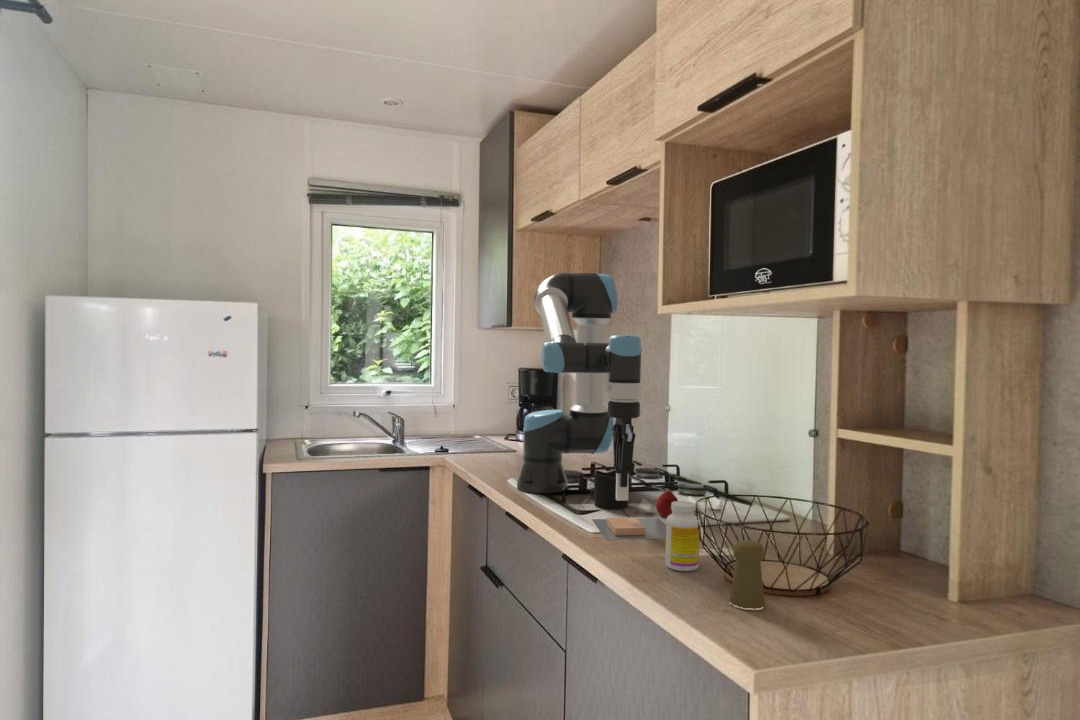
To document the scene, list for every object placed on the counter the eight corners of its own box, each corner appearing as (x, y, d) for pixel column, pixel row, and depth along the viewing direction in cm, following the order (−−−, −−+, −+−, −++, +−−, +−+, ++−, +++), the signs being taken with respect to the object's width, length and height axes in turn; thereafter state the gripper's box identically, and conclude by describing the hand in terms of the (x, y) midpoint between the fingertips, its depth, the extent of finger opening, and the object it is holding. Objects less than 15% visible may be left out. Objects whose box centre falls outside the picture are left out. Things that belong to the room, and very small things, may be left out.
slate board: (591, 524, 171) (591, 519, 171) (658, 523, 174) (658, 518, 173) (606, 544, 155) (606, 539, 155) (680, 543, 157) (681, 538, 157)
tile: (606, 517, 166) (615, 528, 157) (635, 517, 167) (645, 527, 158) (606, 525, 166) (615, 536, 157) (635, 524, 167) (645, 535, 158)
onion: (677, 517, 179) (678, 486, 179) (680, 523, 173) (680, 491, 173) (654, 516, 180) (655, 485, 179) (656, 522, 174) (657, 490, 174)
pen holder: (621, 516, 179) (622, 477, 179) (587, 511, 184) (588, 473, 183) (633, 508, 188) (634, 471, 187) (601, 504, 192) (602, 468, 192)
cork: (739, 612, 118) (740, 547, 118) (722, 598, 124) (724, 537, 123) (772, 610, 119) (773, 546, 119) (754, 596, 125) (756, 535, 125)
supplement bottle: (705, 571, 138) (706, 506, 138) (675, 573, 136) (676, 508, 136) (688, 560, 145) (689, 498, 144) (659, 563, 143) (660, 500, 142)
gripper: (602, 398, 171) (600, 493, 172) (614, 403, 158) (612, 506, 159) (632, 398, 172) (630, 493, 173) (647, 403, 159) (644, 506, 160)
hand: (621, 499), depth 166 cm, fingers closed
